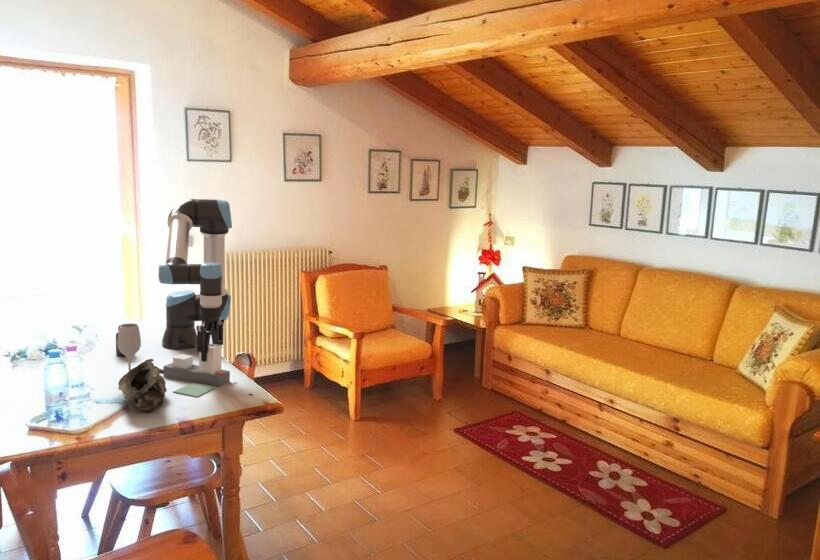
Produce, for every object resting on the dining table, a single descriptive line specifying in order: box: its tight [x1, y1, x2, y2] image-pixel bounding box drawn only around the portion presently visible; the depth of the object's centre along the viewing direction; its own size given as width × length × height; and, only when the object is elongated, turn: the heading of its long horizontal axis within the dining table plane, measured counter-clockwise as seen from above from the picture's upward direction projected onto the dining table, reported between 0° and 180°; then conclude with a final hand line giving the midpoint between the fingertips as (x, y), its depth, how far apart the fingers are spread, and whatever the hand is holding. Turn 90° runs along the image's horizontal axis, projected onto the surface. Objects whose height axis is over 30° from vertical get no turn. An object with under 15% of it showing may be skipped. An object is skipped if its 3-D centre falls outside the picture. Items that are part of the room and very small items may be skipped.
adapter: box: [172, 353, 194, 370], centre depth 239 cm, size 5×5×5 cm
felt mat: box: [172, 382, 218, 398], centre depth 227 cm, size 11×10×1 cm
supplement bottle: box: [115, 325, 127, 358], centre depth 261 cm, size 7×7×12 cm
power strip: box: [159, 362, 231, 388], centre depth 239 cm, size 31×7×4 cm, turn 71°
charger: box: [198, 342, 223, 375], centre depth 235 cm, size 5×6×10 cm
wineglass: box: [117, 322, 142, 372], centre depth 229 cm, size 8×8×21 cm
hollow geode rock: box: [117, 358, 167, 414], centre depth 212 cm, size 28×13×15 cm
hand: (210, 367), depth 236 cm, fingers closed on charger, 5 cm apart
